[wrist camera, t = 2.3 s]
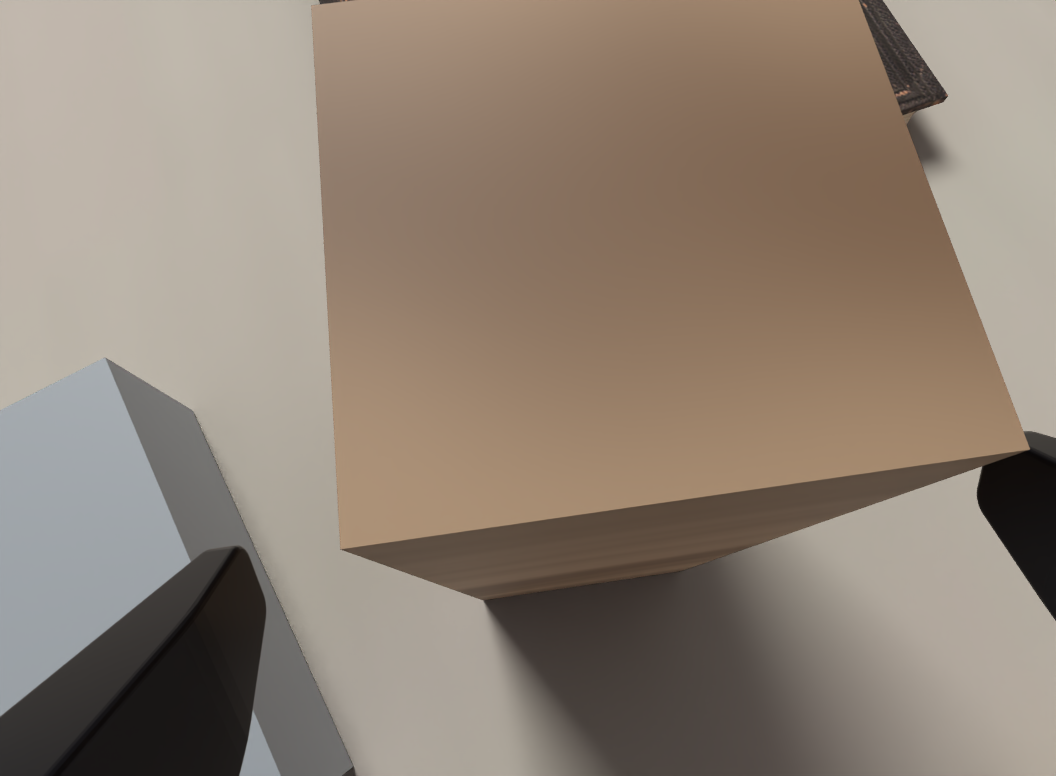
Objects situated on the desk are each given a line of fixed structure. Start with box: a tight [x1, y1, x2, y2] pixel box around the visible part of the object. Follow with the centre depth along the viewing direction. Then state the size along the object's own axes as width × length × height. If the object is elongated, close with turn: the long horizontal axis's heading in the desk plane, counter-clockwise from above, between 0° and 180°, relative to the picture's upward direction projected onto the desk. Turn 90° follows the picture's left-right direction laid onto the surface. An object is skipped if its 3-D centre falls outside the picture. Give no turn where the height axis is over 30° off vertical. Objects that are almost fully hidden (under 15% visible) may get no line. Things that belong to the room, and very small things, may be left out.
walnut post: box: [311, 0, 1030, 600], centre depth 12 cm, size 5×5×13 cm
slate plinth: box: [0, 358, 353, 776], centre depth 15 cm, size 10×10×4 cm
